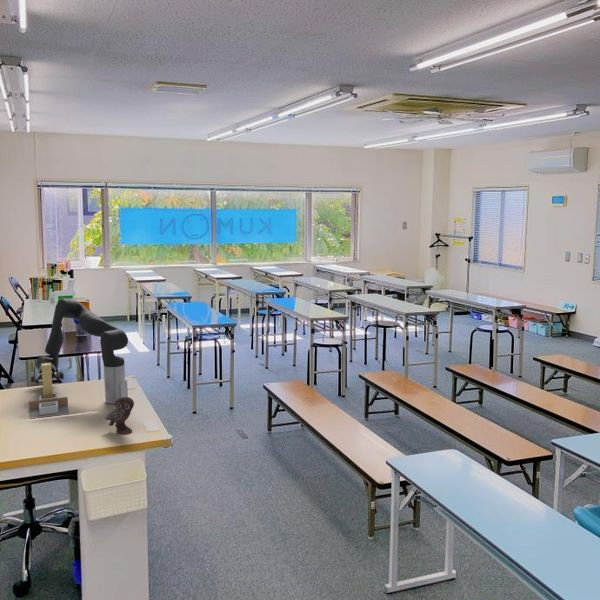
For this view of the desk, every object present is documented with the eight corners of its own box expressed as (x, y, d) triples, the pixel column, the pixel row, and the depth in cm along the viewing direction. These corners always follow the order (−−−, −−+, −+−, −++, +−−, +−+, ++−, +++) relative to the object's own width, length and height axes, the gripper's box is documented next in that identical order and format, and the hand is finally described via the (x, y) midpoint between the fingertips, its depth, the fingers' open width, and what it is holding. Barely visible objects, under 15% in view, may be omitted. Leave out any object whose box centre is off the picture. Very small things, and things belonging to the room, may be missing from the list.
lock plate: (30, 403, 289) (29, 393, 289) (67, 398, 295) (66, 390, 295) (28, 419, 267) (28, 409, 267) (69, 414, 273) (68, 404, 272)
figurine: (103, 430, 252) (103, 394, 249) (112, 425, 257) (112, 390, 254) (127, 437, 247) (128, 401, 244) (137, 432, 252) (137, 397, 249)
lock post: (44, 401, 288) (41, 363, 285) (53, 400, 290) (50, 362, 287) (44, 404, 284) (41, 365, 282) (53, 403, 286) (50, 364, 283)
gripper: (30, 365, 300) (30, 374, 285) (62, 362, 305) (63, 370, 290) (31, 381, 301) (31, 390, 286) (63, 377, 306) (64, 386, 292)
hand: (47, 380), depth 288 cm, fingers open, 8 cm apart
